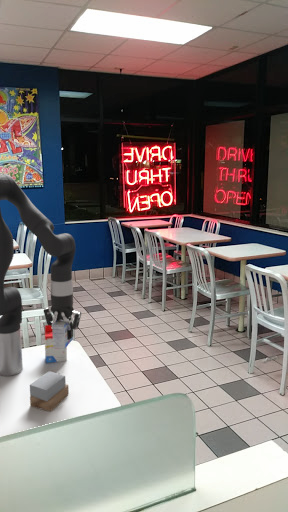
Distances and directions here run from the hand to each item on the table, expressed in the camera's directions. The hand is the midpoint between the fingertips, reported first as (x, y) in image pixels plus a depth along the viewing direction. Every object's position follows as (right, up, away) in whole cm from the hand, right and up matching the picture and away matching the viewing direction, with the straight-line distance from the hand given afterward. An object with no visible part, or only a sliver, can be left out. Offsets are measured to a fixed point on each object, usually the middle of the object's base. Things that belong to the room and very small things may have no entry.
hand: (63, 337), depth 139 cm
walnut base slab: (-4, -21, -4) cm, 22 cm away
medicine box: (0, -3, +1) cm, 3 cm away
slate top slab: (-4, -17, -5) cm, 18 cm away
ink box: (-8, -14, +24) cm, 29 cm away
